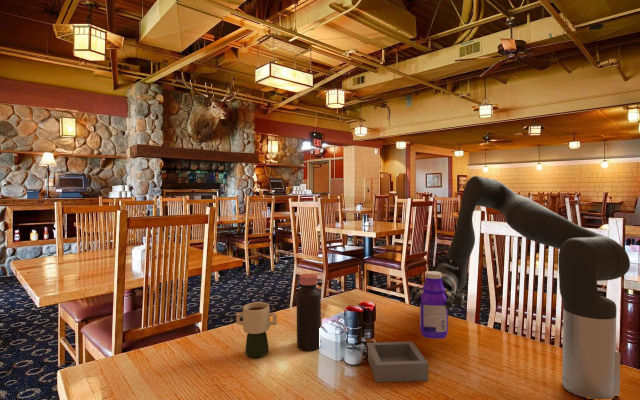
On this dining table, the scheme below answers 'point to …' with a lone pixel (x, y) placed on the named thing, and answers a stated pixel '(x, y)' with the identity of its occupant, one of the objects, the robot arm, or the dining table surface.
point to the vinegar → (308, 313)
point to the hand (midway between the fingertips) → (432, 303)
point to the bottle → (433, 307)
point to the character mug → (256, 327)
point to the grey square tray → (397, 362)
